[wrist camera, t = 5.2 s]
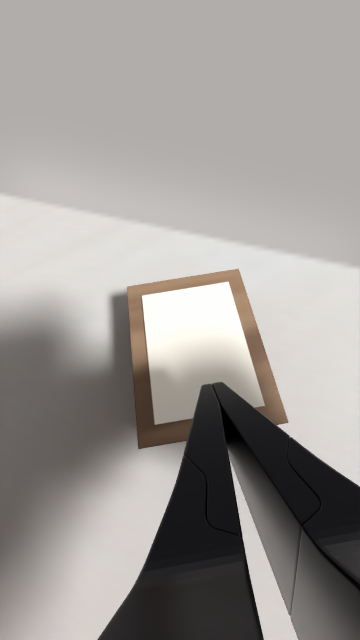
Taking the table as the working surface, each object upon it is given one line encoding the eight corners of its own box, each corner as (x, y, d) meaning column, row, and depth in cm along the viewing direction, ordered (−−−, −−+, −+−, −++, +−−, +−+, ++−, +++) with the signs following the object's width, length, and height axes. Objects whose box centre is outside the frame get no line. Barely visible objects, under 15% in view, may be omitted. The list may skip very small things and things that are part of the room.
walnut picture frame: (289, 423, 11) (238, 267, 15) (137, 449, 11) (126, 285, 15) (264, 419, 15) (229, 296, 19) (151, 439, 15) (139, 311, 19)
